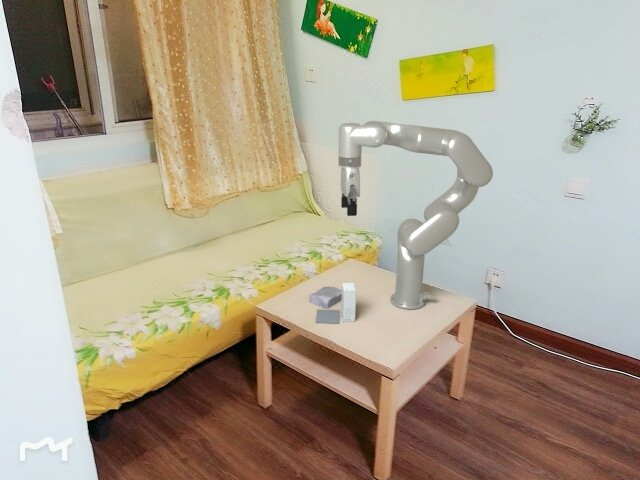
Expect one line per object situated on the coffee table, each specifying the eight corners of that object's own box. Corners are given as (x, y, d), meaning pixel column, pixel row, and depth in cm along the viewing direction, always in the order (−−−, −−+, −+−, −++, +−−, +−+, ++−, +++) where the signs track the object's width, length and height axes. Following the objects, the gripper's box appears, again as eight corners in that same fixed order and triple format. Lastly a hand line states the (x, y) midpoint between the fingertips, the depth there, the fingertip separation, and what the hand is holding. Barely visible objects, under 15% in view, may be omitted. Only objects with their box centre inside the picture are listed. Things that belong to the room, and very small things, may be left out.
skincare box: (355, 321, 158) (356, 290, 154) (343, 322, 158) (343, 290, 154) (352, 313, 164) (353, 282, 160) (340, 313, 164) (341, 282, 159)
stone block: (307, 307, 172) (328, 310, 166) (305, 294, 171) (326, 297, 165) (326, 296, 181) (347, 299, 175) (324, 284, 180) (345, 286, 174)
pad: (339, 310, 165) (339, 309, 165) (339, 323, 157) (339, 322, 157) (317, 310, 166) (317, 309, 166) (315, 323, 157) (315, 322, 157)
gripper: (367, 166, 146) (365, 218, 152) (355, 156, 162) (353, 204, 168) (343, 167, 145) (343, 219, 151) (333, 157, 161) (333, 205, 167)
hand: (348, 211), depth 159 cm, fingers open, 9 cm apart
